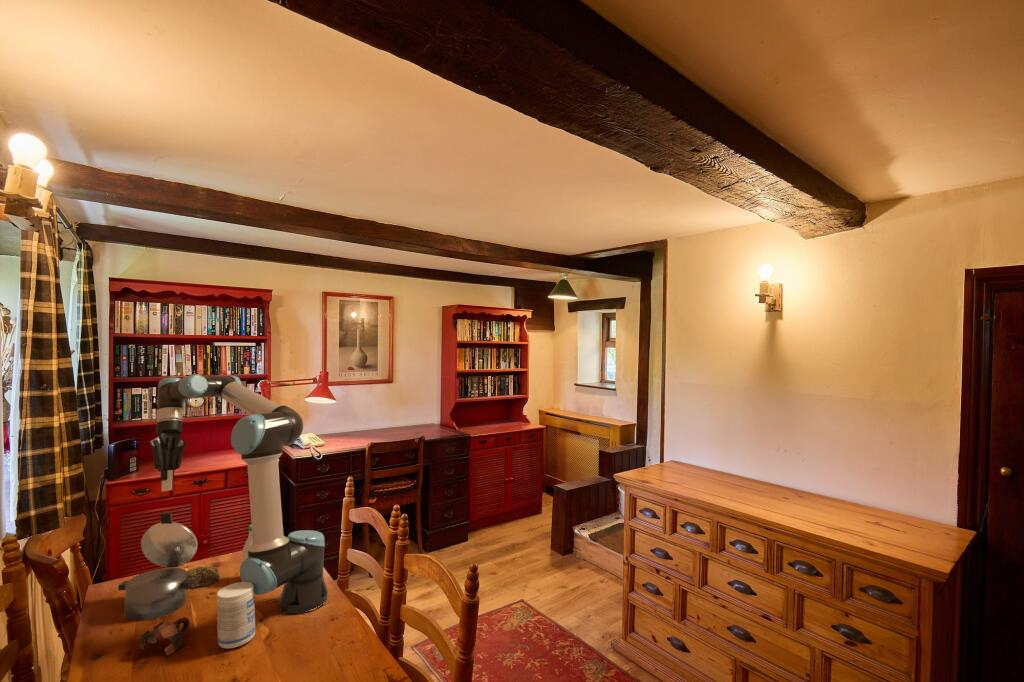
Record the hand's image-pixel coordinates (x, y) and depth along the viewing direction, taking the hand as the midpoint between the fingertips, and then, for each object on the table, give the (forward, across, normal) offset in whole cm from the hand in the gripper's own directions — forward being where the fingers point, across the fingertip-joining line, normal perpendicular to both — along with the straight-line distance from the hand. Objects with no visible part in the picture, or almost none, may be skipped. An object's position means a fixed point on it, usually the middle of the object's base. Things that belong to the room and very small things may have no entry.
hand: (166, 490), depth 162 cm
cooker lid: (+16, -4, -3) cm, 17 cm away
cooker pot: (+36, -4, -7) cm, 36 cm away
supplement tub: (+48, +3, +30) cm, 56 cm away
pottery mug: (+46, +11, +13) cm, 49 cm away
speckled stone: (+31, -22, -8) cm, 39 cm away
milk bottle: (+35, -28, +10) cm, 45 cm away
